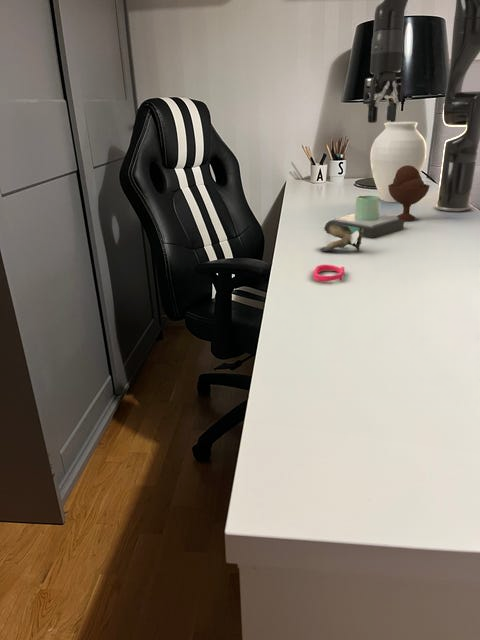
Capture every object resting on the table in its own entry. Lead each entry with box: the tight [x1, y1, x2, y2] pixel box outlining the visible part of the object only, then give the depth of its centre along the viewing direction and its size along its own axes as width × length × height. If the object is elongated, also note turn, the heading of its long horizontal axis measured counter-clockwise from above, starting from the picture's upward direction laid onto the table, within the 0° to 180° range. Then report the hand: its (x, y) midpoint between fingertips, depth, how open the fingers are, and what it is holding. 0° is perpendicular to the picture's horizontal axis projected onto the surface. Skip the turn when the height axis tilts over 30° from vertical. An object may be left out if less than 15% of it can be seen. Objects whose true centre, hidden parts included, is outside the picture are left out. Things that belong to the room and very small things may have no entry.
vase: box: [369, 121, 428, 203], centre depth 167 cm, size 18×18×25 cm
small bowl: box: [354, 194, 381, 221], centre depth 131 cm, size 6×6×6 cm
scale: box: [328, 213, 405, 239], centre depth 133 cm, size 14×14×3 cm
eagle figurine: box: [319, 219, 364, 253], centre depth 114 cm, size 8×7×9 cm
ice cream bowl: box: [388, 165, 431, 222], centre depth 141 cm, size 11×11×15 cm
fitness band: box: [312, 264, 345, 283], centre depth 98 cm, size 8×6×2 cm
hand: (381, 121), depth 131 cm, fingers open, 8 cm apart
